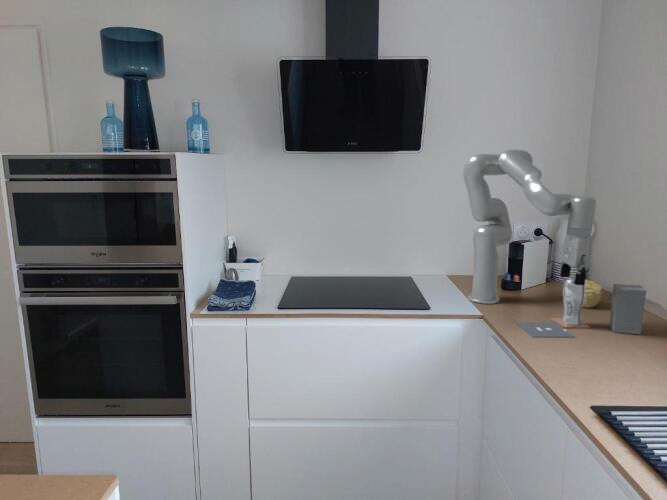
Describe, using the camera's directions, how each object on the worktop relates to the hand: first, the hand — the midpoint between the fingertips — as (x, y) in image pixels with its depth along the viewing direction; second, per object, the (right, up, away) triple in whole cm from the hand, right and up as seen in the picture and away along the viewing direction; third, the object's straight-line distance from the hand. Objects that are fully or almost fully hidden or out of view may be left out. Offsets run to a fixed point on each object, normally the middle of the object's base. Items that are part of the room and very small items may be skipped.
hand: (571, 280), depth 158 cm
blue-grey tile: (-12, -17, -4) cm, 21 cm away
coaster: (0, -15, +2) cm, 16 cm away
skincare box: (+15, -17, -5) cm, 23 cm away
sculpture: (+17, -12, +24) cm, 32 cm away
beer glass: (0, -15, +1) cm, 15 cm away
